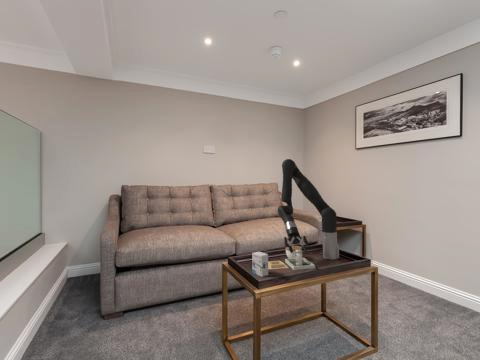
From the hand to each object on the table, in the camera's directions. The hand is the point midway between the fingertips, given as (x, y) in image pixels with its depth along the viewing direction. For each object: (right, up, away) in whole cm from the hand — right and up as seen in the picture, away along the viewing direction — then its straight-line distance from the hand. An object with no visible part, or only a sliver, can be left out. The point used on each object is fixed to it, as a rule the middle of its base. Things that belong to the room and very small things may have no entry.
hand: (299, 251), depth 150 cm
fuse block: (-14, -9, 0) cm, 17 cm away
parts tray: (0, -9, 0) cm, 8 cm away
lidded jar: (0, -9, +15) cm, 17 cm away
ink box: (-24, -9, -14) cm, 29 cm away
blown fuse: (0, -8, 0) cm, 8 cm away
